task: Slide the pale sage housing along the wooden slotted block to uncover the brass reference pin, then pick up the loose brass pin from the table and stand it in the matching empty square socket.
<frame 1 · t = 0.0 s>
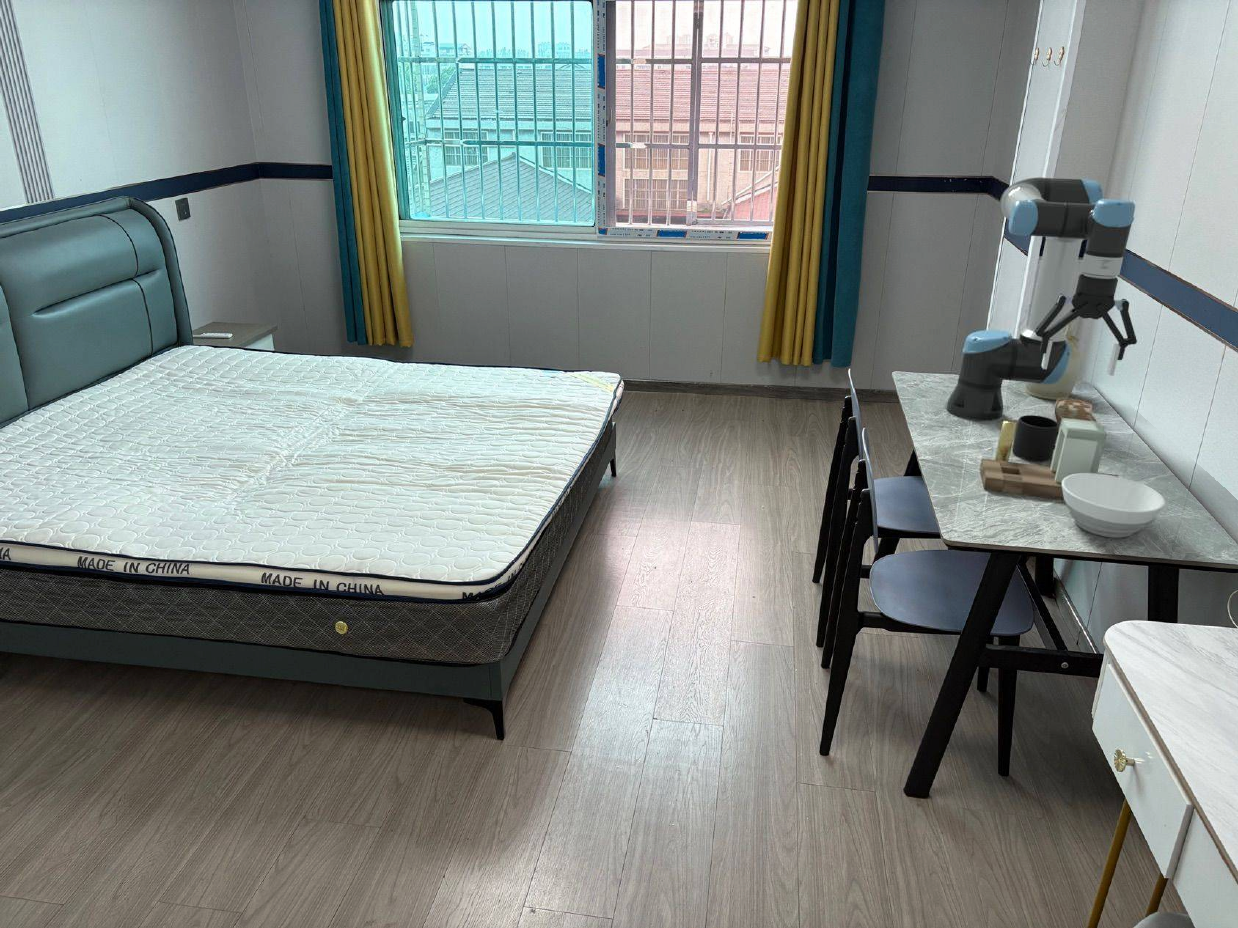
hand: (1076, 370, 200), 28 cm above the table, fingers open, 13 cm apart
pin: (1000, 468, 220), on the table
housing: (1077, 451, 205), point 10 cm above the table, slide at 0.0 cm
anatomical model: (1070, 428, 248), on the table
bowl: (1102, 527, 191), on the table
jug: (1046, 394, 275), on the table
wooden slotted block: (1049, 487, 209), on the table
mug: (1037, 456, 228), on the table
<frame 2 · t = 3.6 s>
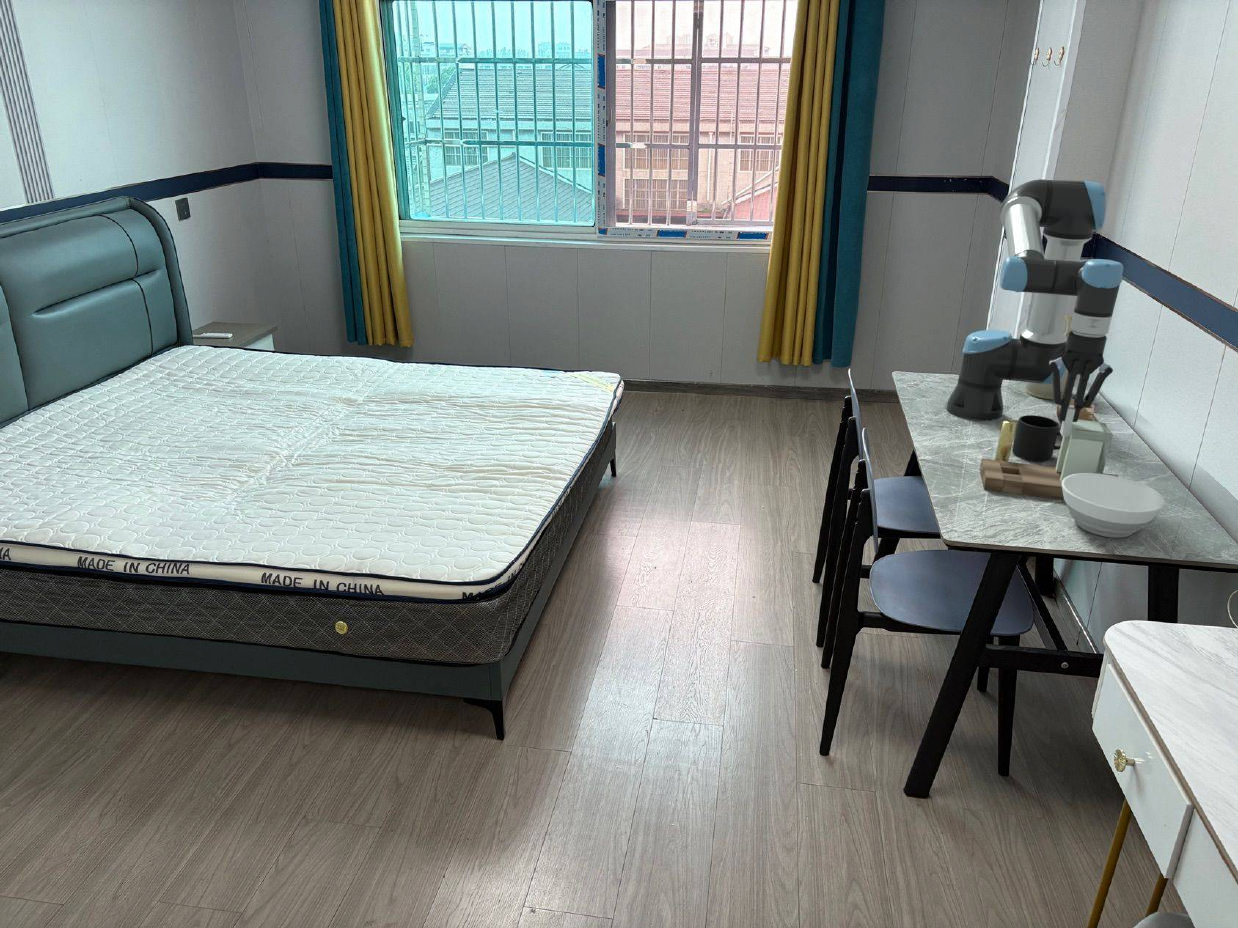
hand: (1064, 434, 204), 13 cm above the table, fingers closed
housing: (1083, 452, 204), point 10 cm above the table, slide at 1.1 cm, touching gripper
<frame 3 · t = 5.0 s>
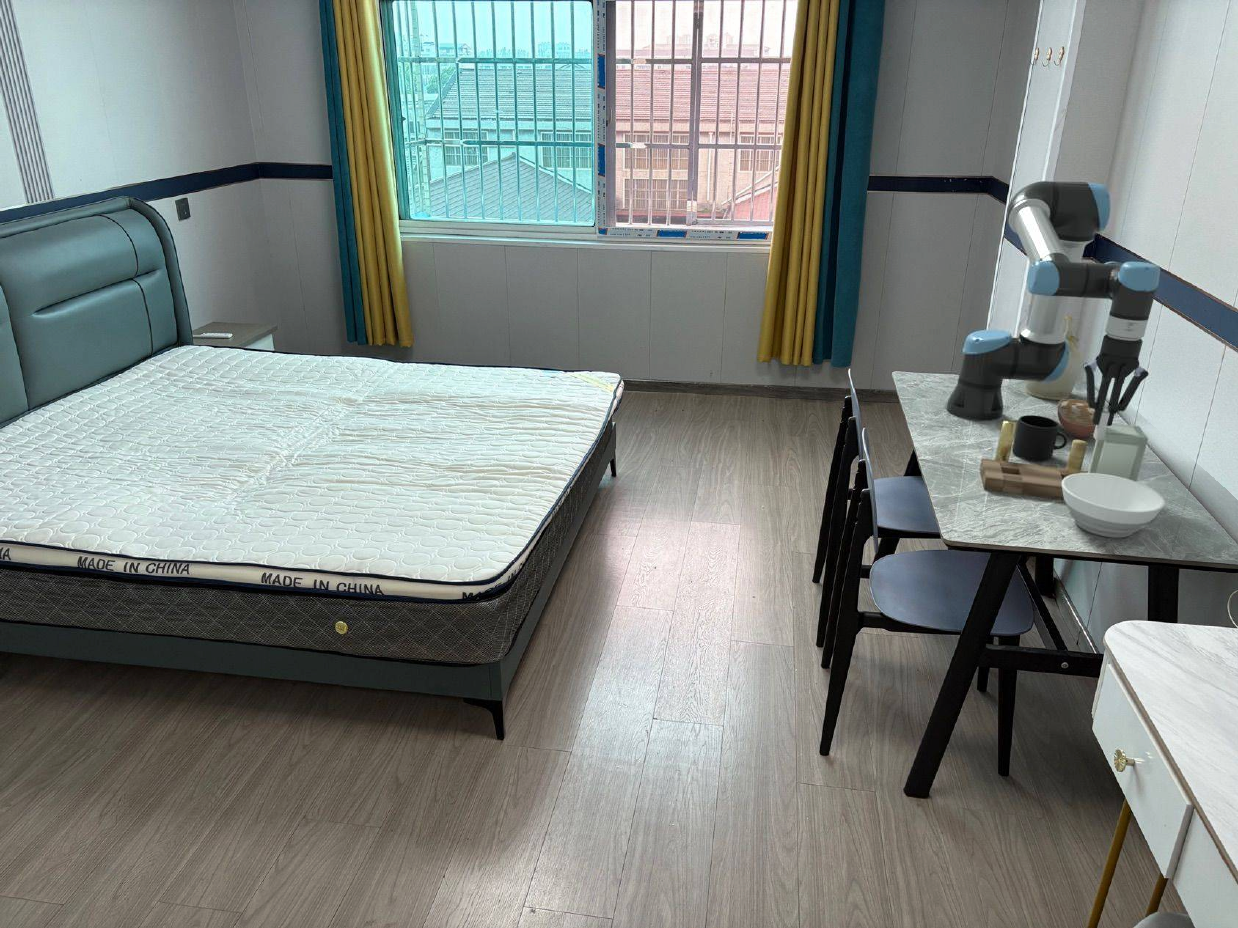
hand: (1098, 438, 202), 13 cm above the table, fingers closed
housing: (1116, 456, 203), point 10 cm above the table, slide at 8.2 cm, touching gripper
everything else where it was.
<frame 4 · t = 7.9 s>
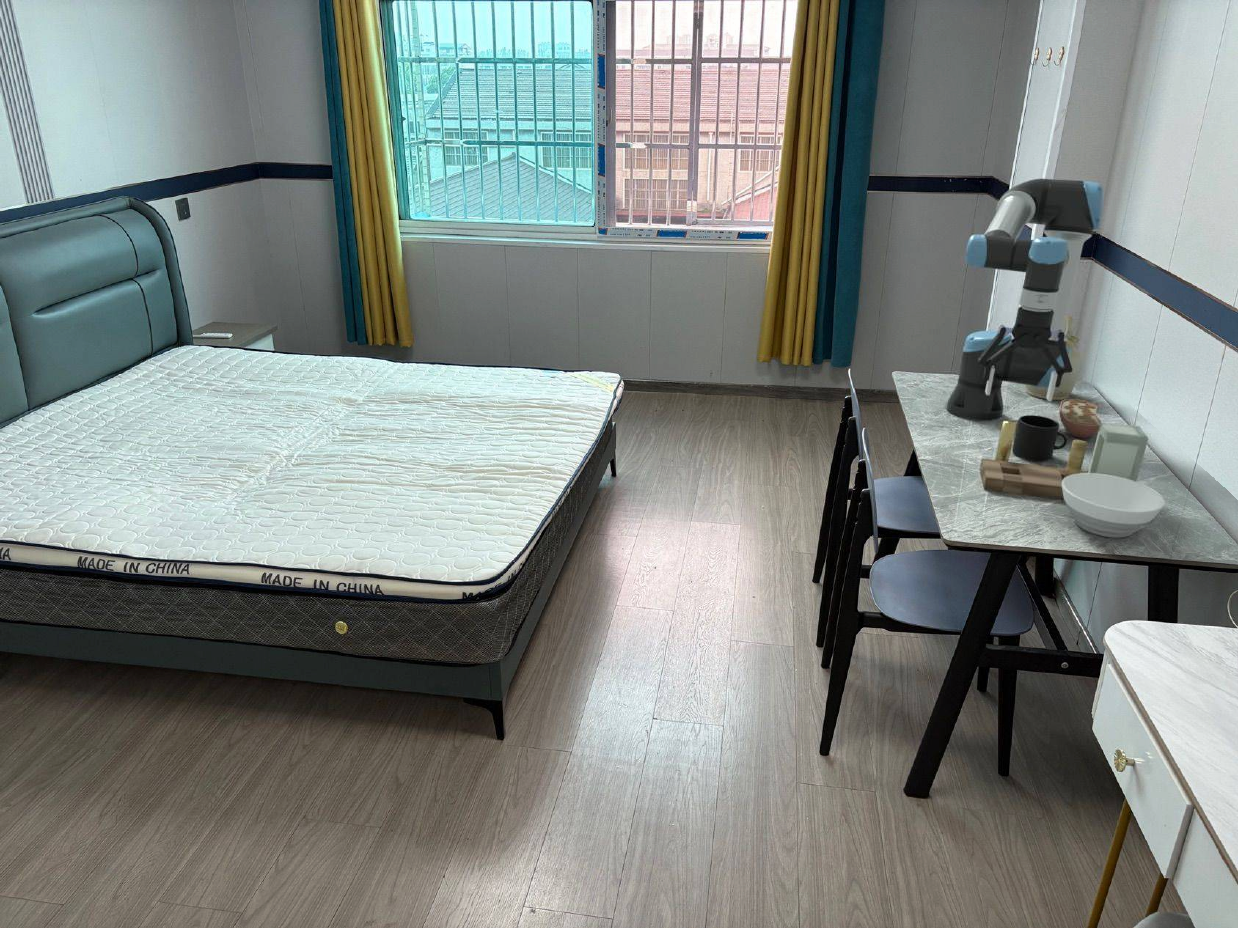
hand: (1017, 396, 212), 19 cm above the table, fingers open, 13 cm apart
housing: (1117, 456, 203), point 10 cm above the table, slide at 8.2 cm
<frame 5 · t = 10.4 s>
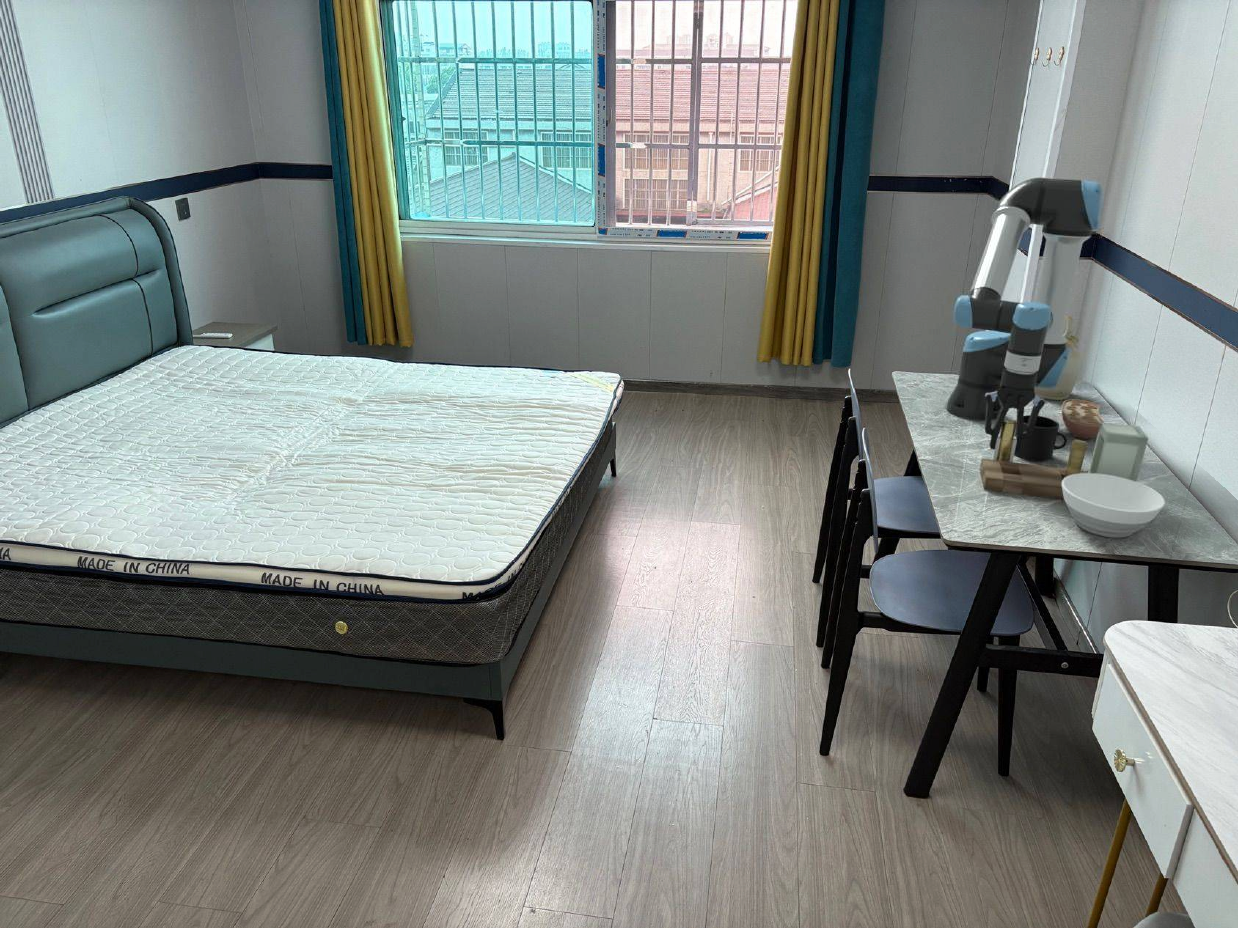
hand: (1001, 462, 219), 2 cm above the table, fingers closed on pin, 3 cm apart
pin: (1000, 468, 220), on the table, touching gripper
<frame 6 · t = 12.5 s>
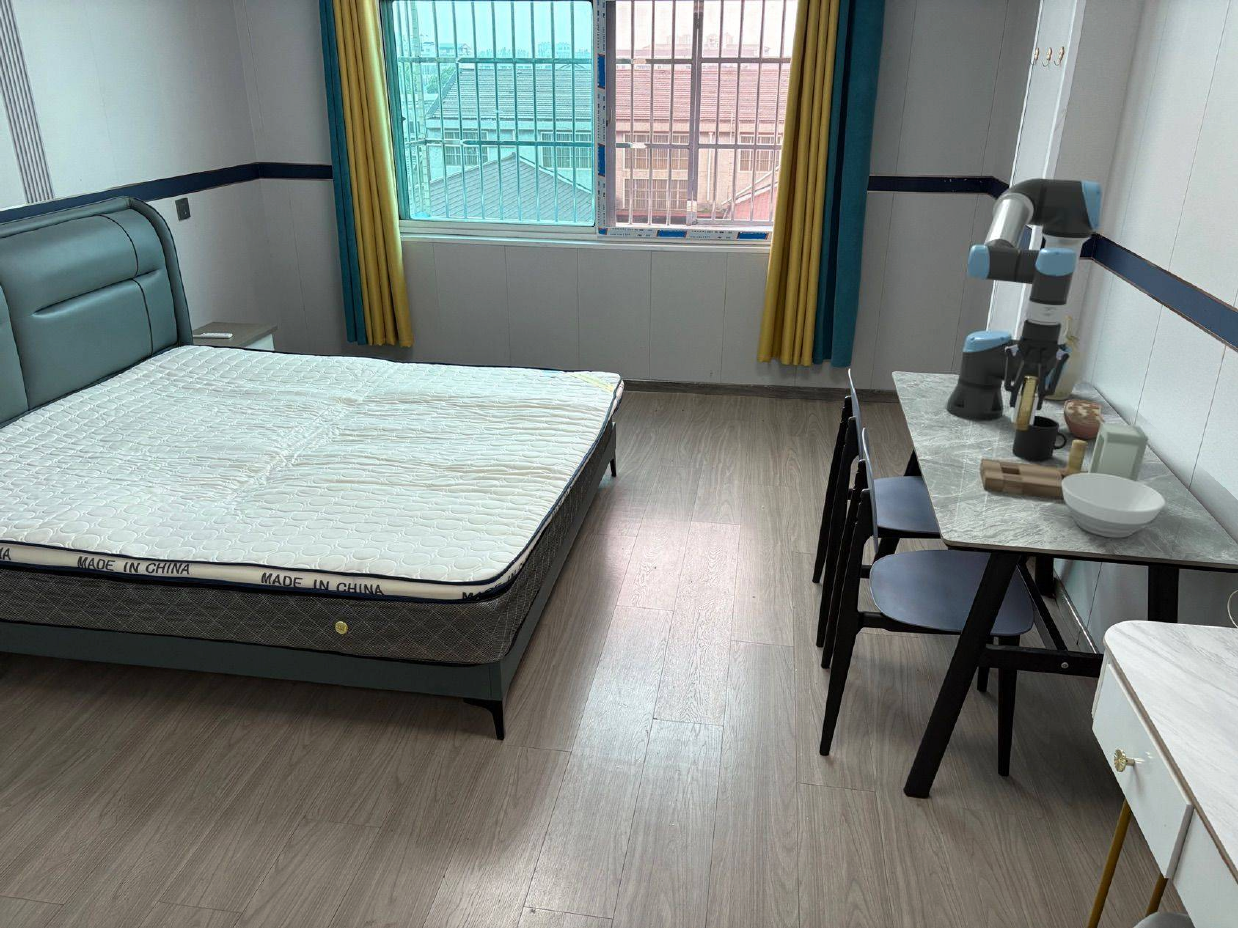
hand: (1021, 421, 205), 15 cm above the table, fingers closed on pin, 3 cm apart
pin: (1020, 427, 206), point 14 cm above the table, touching gripper
when the fingers open (4 cm above the table, at t = 14.6 s): pin drops 1 cm, resting in wooden slotted block.
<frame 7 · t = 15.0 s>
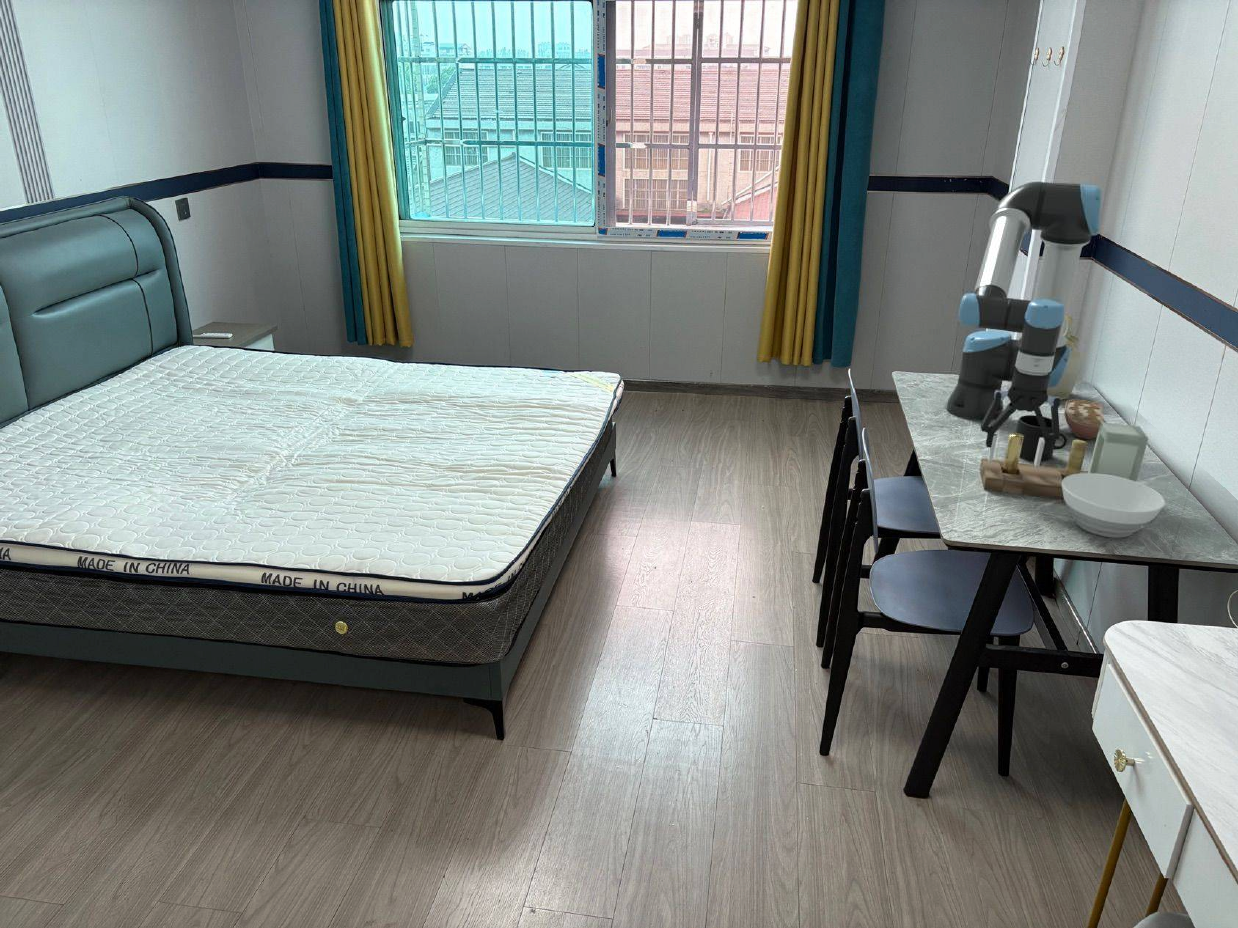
hand: (1012, 462, 209), 5 cm above the table, fingers open, 9 cm apart
pin: (1007, 482, 212), resting in wooden slotted block
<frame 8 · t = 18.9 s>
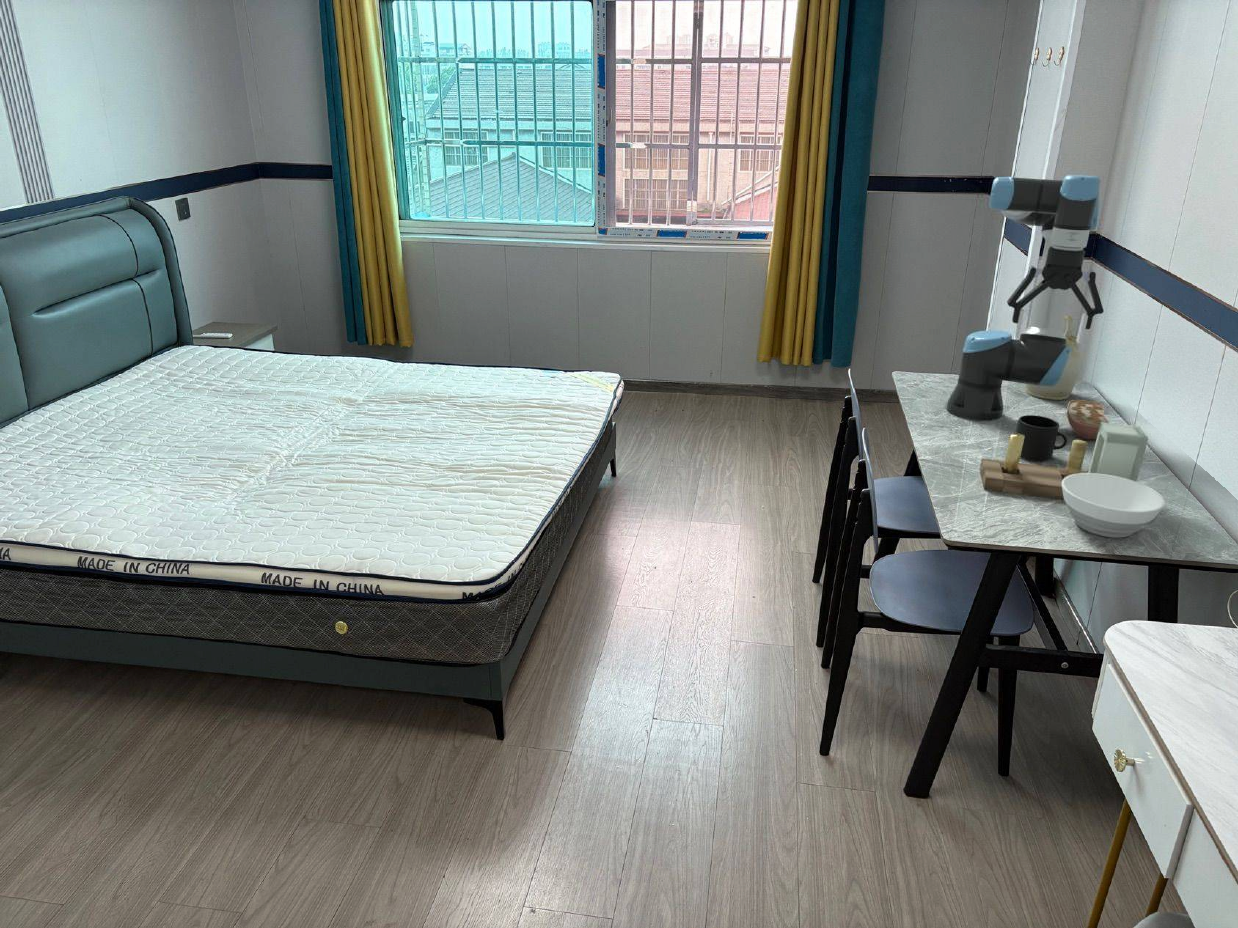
hand: (1047, 339, 210), 32 cm above the table, fingers open, 13 cm apart
at the end: housing slide at 8.2 cm; pin 0.2 cm from the target spot on the wooden slotted block, point 0.0 cm above the wooden slotted block's base; pin tilted 0° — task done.
